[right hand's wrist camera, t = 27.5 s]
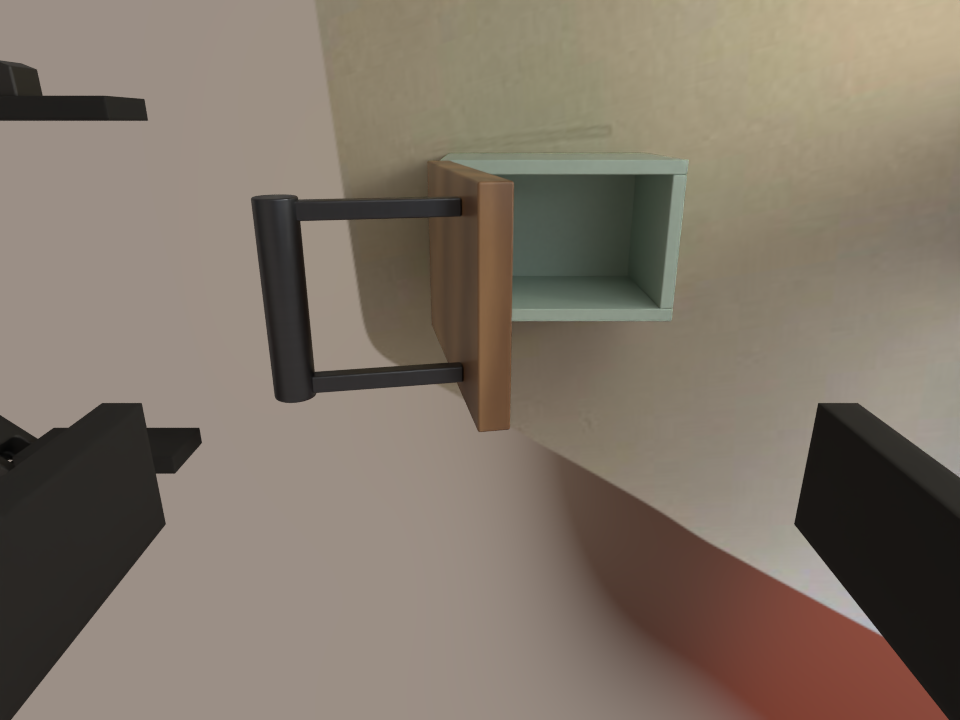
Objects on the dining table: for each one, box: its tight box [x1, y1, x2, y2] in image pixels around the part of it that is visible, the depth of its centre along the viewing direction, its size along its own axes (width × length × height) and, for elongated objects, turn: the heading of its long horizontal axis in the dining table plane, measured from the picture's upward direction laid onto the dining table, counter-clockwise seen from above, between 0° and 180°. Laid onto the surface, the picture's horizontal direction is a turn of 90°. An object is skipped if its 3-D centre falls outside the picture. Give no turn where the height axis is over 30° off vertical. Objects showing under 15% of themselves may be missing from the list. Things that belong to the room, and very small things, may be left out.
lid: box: [251, 161, 514, 432], centre depth 28 cm, size 14×9×9 cm
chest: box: [440, 153, 689, 321], centre depth 41 cm, size 14×9×10 cm
